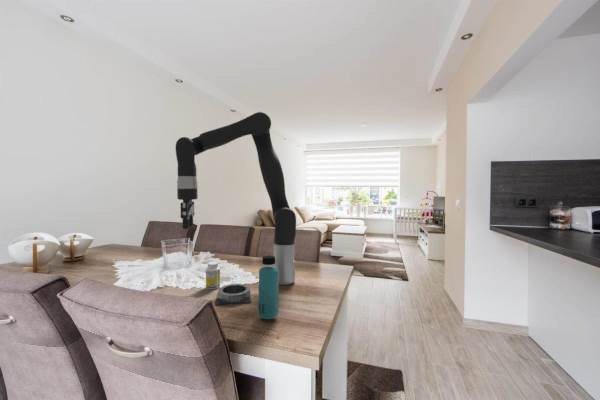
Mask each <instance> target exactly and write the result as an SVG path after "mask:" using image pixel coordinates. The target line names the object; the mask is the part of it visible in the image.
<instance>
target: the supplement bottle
mask: <svg viewBox="0 0 600 400" xmlns="http://www.w3.org/2000/svg"><path fill="white" fill-rule="evenodd" d="M220 286H221V268H220V266H219V263H218V261H217V262H216V261H210V262H207V267H206V268H205V288H206V289H207V290H216V289H219V288H221V287H220Z"/></svg>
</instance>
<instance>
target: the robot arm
mask: <svg viewBox="0 0 600 400" xmlns="http://www.w3.org/2000/svg"><path fill="white" fill-rule="evenodd" d="M271 127H272V120H271V117H270V116H269V115H268V114H267V113H266V112H261V111H258V112H255V113H253V114H251V115H249V116H247V117H245V118H242V119H240V120H239V121H235V122H233V123H230V124H228V125H224V126H221V127H218V128H215V129H212V130H209V131H205V132H202V133H200V134H199V135H198V136H197V137H194V138H189V137H187V136H183V137H179V138H178V139H177V140H176V142H175V154H176V162H177V180H176V181H177V182H176V183H177V184H176V186H177V187H176V189H177V190H176V191H177V200H179V201H180V200H181V201H182V202H180V219H181V220H182V229H183V230H188V229H189V228H190V227H193V226H194V216H195V201H193V200H197V199H198V180H197V165H196V162H195V160H196V159H195V156H198V155H199V154H202V153H204V152H206V151H208V150H212V149H216V148H218V147H221V146H224V145H226V144H229V143H231V142H233V141H235V140H237V139H239V138H242V137H245V136H249V135H251V137H252V139H253V142H254V145H255V148H256V149H255V150H256V152H257V158H258V159H257V160H258V164H259V169H260V173H261V177H262V179H263V183H264V185H265V189H266V192H267V194H268V197H269V201H270V204H271V210H272V217H273V218H272V219H273V221H274V235H273V256H275V262H276V263H275V264H272V266H275V267H276V268H277V269H278V270H279V275H278V286H279V285H281V286H284V285H291V284H295V282H296V261H295V240H296V235H297V234H296V233H297V231H296V230H297V216H296V213H295V212H294V210H292V209H291V208H290V205H289V202H288V200H287V196H286V188H285V187H286V186H285V185H286V184H285V177H284V172H283V167H282V165H281V162H280V159H279V157H278V155H277V152H276V151H275V149H274V146H273V143H272V138H271V133H270V130H271Z"/></svg>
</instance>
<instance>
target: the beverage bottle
mask: <svg viewBox="0 0 600 400" xmlns="http://www.w3.org/2000/svg"><path fill="white" fill-rule="evenodd" d="M275 263H276V262H275V256H274V255H264V256H262V261H261V264H262V265H263V266H262V267H261V268H259V270H258V300H257V301H258V304H257V305H258V306H257V307H258V308H257V309H258V310H257V312H258V316H259V317H260V318H261V319H265V320H273V319H275V318H277V317H278V315H279V311H280V310H279V309H280V305H279V284H278V275H279V270H278V269H277V268H276V267H275V266H273V264H275Z"/></svg>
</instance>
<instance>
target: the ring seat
mask: <svg viewBox="0 0 600 400" xmlns="http://www.w3.org/2000/svg"><path fill="white" fill-rule="evenodd" d="M251 297H252V296H251V287H250V286H249V285H247V284H243V283H230V284H227V285H226V284H225V285H223V286H221V287H219V288H218V291H217V299H216V303H215V306H227V305H228V306H229V305H230V306H231V305H240V304H242V305H243V304H251V303H252V298H251Z"/></svg>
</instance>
